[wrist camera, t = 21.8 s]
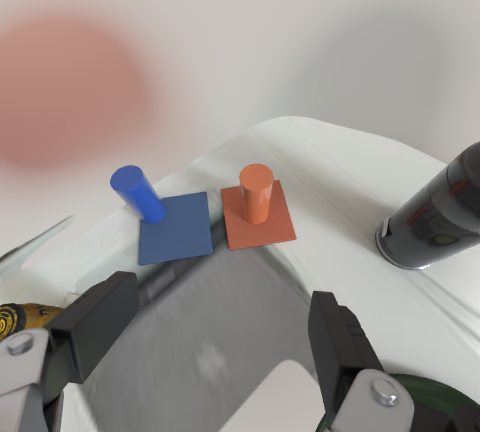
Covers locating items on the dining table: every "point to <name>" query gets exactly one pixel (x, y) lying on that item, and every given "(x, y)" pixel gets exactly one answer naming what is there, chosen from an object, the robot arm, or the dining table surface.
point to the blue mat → (177, 231)
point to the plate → (425, 395)
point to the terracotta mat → (256, 234)
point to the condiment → (28, 315)
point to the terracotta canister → (256, 192)
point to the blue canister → (138, 194)
